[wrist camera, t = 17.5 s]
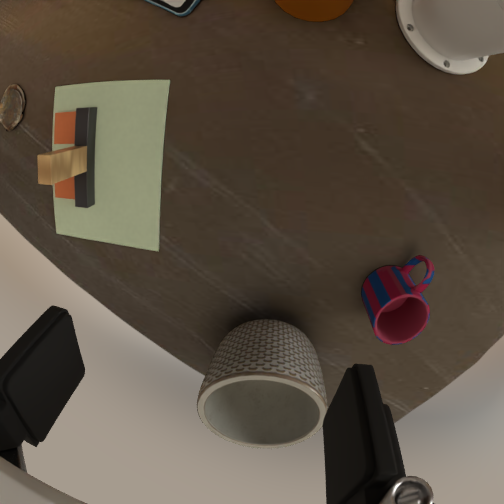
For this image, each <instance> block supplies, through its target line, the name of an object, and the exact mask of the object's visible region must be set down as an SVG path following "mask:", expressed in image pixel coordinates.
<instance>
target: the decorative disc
mask: <svg viewBox="0 0 504 504" xmlns="http://www.w3.org/2000/svg"><path fill="white" fill-rule="evenodd" d="M24 105H25V100H24V93H23V90H22V89H21V88H20V87H19V85H16V84H14V85H10V86H9V87H8V88H7V90H6V91H5V93H4V95H3V98H2V101H1V104H0V122H2V124H3V126H5V129H6V131H11V130H13V129H14V127H16V126H17V124H18V122H20V121H21V119H22V116H23V114H22V111H23V109H24Z"/></svg>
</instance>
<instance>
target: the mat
mask: <svg viewBox="0 0 504 504" xmlns="http://www.w3.org/2000/svg"><path fill="white" fill-rule="evenodd" d="M169 86H170V80H127V81H108V82H95V83H84V84H75V85H66V86H58V87H56V88H55V99H54V113H53V136H52V151H55V150H59V149H63V148H68V147H72V146H74V144H54V126H55V113H59V112H72V111H76V108H86V107H97V119H96V137H95V204H94V205H93V206H91V207H89V208H81V207H75V199H65V198H56V197H55V184H53V197H54V211H55V223H56V233H57V234H62V235H67V236H73V237H79V238H84V239H90V240H96V241H101V242H107V243H113V244H118V245H124V246H130V247H136V248H142V249H148V250H154V251H159V232H160V198H161V177H162V161H163V147H164V134H165V123H166V113H167V104H168V95H169Z"/></svg>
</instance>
